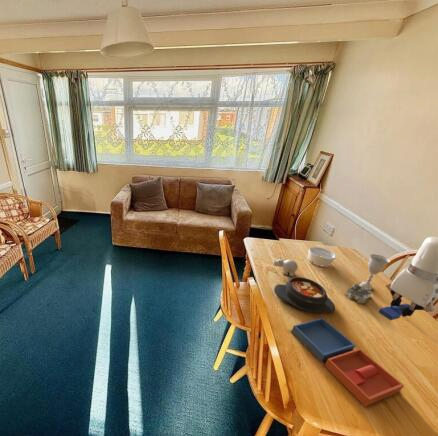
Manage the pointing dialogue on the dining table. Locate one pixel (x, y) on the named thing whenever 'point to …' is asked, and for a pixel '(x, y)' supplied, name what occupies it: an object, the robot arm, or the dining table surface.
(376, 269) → the chalice
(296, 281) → the casserole
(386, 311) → the blue spoon
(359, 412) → the dining table surface
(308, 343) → the blue bin
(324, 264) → the ramekin
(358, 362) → the red bin
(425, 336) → the dining table surface
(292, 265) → the chubby cartoon animal
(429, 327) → the dining table surface
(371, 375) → the red spoon
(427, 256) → the robot arm
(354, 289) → the grey rock
